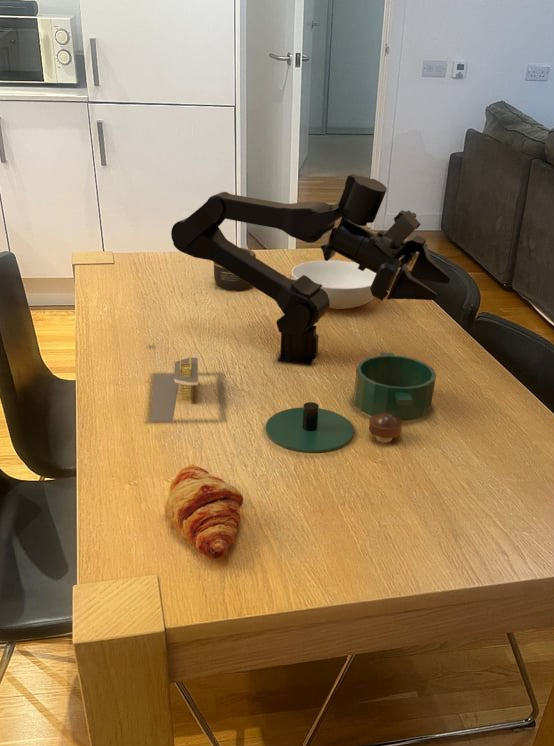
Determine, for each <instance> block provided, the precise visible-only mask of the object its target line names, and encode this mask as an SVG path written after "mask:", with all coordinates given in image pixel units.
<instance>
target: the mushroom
mask: <svg viewBox="0 0 554 746" xmlns="http://www.w3.org/2000/svg"><path fill="white" fill-rule="evenodd" d="M368 422H369V424H368V430H369V431H368V432H369V433H371V434H372V435H374V436H375V439H376V440H377V441H379V442H382V443H389V442H391V441H392V440H393V439H394V438H397V437H399V436H400V435H401V434H402V430H403V421H402V420H401V419H400V418H398V417H397V416H394V415H393V414H391V413H381V414H376V415H374V416H370V418H369V421H368Z"/></svg>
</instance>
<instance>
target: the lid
mask: <svg viewBox="0 0 554 746" xmlns="http://www.w3.org/2000/svg"><path fill="white" fill-rule="evenodd" d="M319 406H320V405H319V404H318V403H316V402H313V401H307V402H305V403H304V404H303V407H302V406H301V407H292V408H288V409H284V410H281V411H279V412H276V413H275V414H273V415H271V416H270V417H269V418H268V419H267V421H266V424H265V434H266V436H267V437H268V438H269V439H270V440H271V441H272V442H273V443H275V444H276V445H278V446H280V447H282V448H284V449H287V450H289V451H295V452H299V453H307V454H309V453H310V454H318V453H319V454H320V453H327V452H332V451H336V450H338V449H341V448H343V447H345V446H346V445H348V444H349V443H350V442H351V441H352V439H353V438H354V432H355V429H354V426H353V424H352V423H351V421H350V420H349V419H347V418H346V417H345V416H343V415H342V414H340V413H337V412H335V411H332V410H328V409H326V408H325V409H324V408H319Z"/></svg>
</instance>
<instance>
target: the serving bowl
mask: <svg viewBox="0 0 554 746" xmlns="http://www.w3.org/2000/svg"><path fill="white" fill-rule="evenodd" d="M358 267H359V264H357V263H355V262H353V261H347V260H337V259H336V260H335V259H333V260H332V259H329V260H328V261H325V259H321V260H319V259H318V260H312V261H311V260H310V261H306V262H302V263H299V264H297V265H295V266H294V267H292V269H291V271H290V274H291V276H290V277H291V279H292V280H297V279H299V278H300V277H301V276H303V275H305V276H307V277H308V278H310V279H311V280H312V281H313V282H315V283H317V284H321V285H322V287H321V289H323V290H324V291H325V292H326V293H327V294H328V298H329V301H330V306H329V309H333V310H344V309H353V308H357V307H362V306H364V305H366V304H367V303H369V302H371V301H372V300H374V298H375V297H374V296H373V295H372V293H371V290H370V287H371V285H372V283H373V280H374V278H375V276H376V273H374V272H372V271H370V270H369V269H367V268H366V269H365V270H364V271H361V270H359V269H358Z"/></svg>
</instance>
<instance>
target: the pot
mask: <svg viewBox="0 0 554 746" xmlns="http://www.w3.org/2000/svg"><path fill="white" fill-rule="evenodd" d="M354 378H355V379H354V389H353V403H354V405H355V407H356V408H358V409H359V411H361V412H362V413H364V414H366V415H369V416H370V417H372V416H374V415H376V414H381V413H391V414H393V415H394V416H397V417H398V418H400V419H401V420H402V422H403V421H405V422H406V421H413V420H416V419H421V418H423V417H425V416H427V414H429V413H430V411H431V408H432V405H433V398H434V392H435V386H436V381H437V380H436V379H437V374H436V371H435V369H434V368H433V367H432V366H431V365H429V364H428V363H426V362H424V361H422V360H419V359H417V358H414V357H409V356H406V355H405V356H404V355H396V354H395V353H394V352H380V354H379V355H374V356H370V357H366V358H365V359H362V360H360V361H359V362H358V364H357V366H356V367H355V377H354Z"/></svg>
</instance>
